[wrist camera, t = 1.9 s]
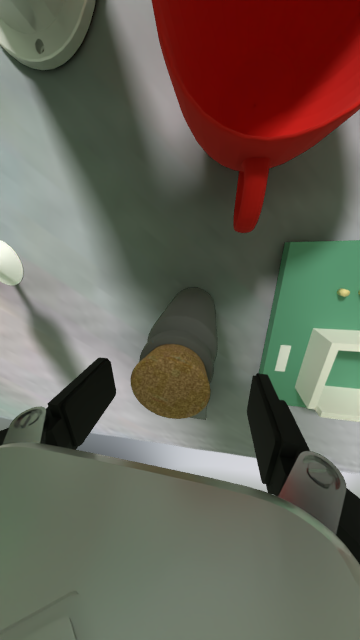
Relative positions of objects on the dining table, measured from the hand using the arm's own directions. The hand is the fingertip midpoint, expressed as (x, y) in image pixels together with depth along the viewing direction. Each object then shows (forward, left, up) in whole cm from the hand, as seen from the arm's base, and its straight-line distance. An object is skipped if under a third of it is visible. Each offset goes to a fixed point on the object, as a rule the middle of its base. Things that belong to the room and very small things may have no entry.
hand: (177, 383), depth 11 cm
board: (+2, +19, -14) cm, 23 cm away
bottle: (-1, 0, -14) cm, 14 cm away
